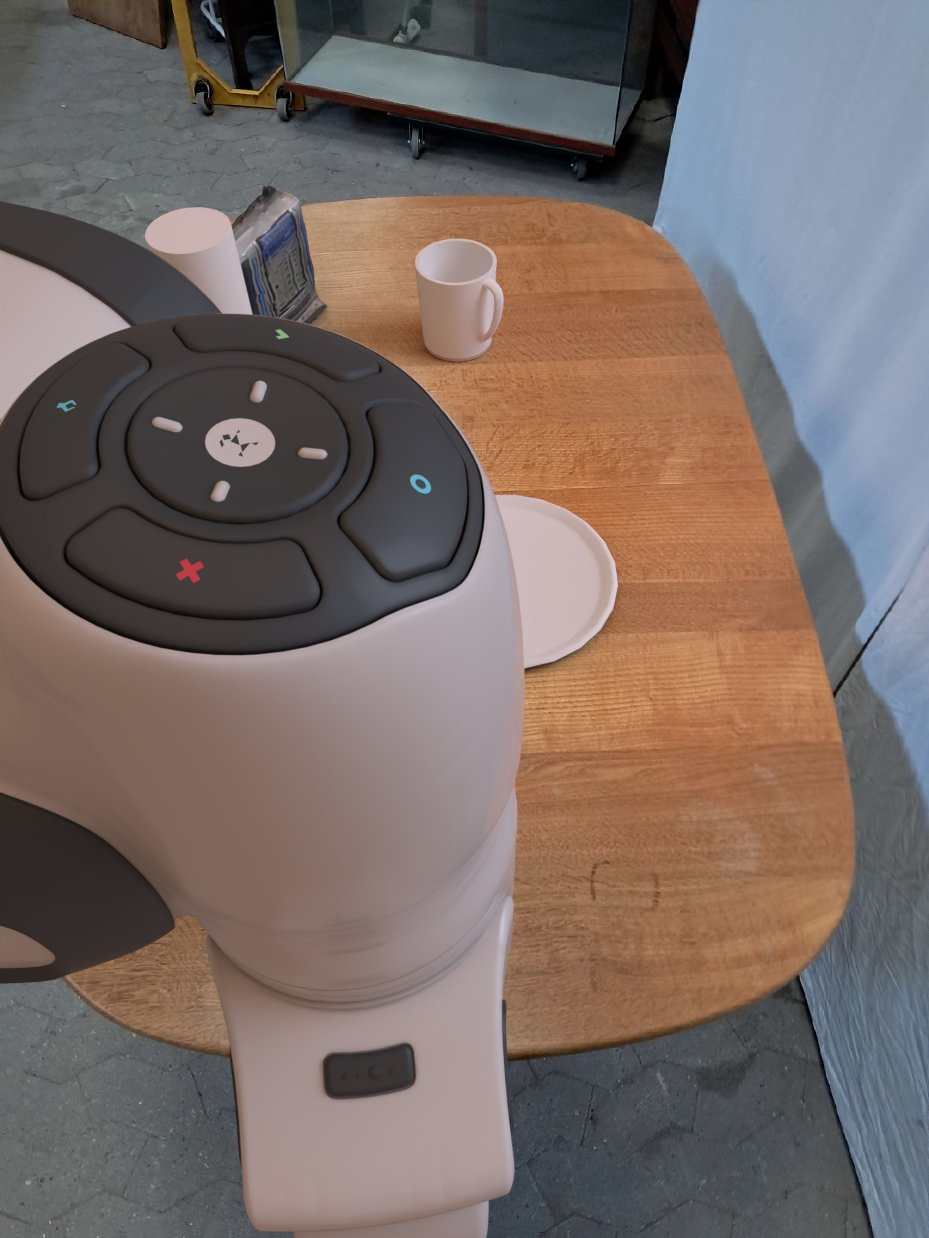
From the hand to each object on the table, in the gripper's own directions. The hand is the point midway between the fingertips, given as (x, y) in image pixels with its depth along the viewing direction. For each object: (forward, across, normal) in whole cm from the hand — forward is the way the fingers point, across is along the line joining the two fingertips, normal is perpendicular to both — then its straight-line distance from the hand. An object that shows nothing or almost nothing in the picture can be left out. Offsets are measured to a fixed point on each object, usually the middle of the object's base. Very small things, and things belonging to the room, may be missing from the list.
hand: (399, 987), depth 37 cm
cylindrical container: (+28, -64, -13) cm, 70 cm away
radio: (+28, -80, -12) cm, 86 cm away
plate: (+28, -42, +11) cm, 52 cm away
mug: (+28, -78, +12) cm, 84 cm away
